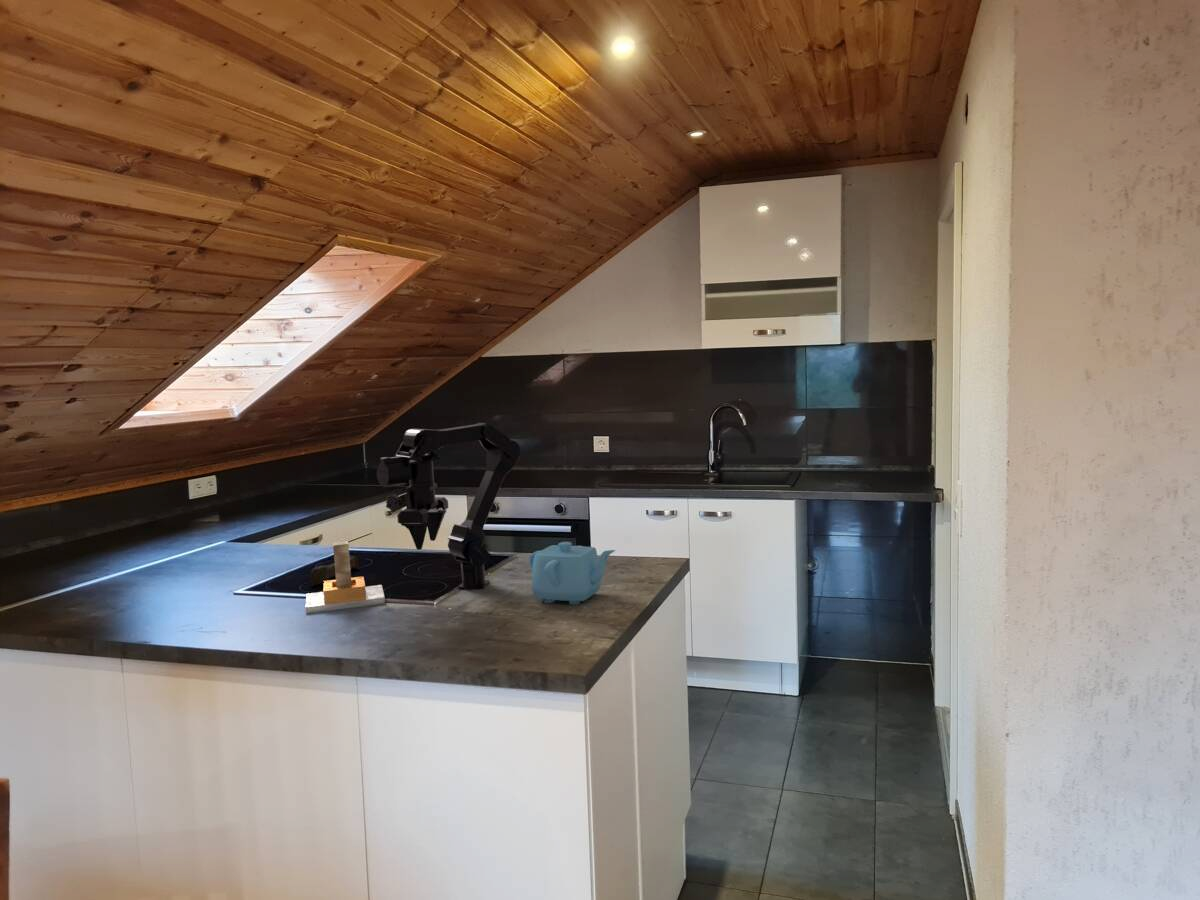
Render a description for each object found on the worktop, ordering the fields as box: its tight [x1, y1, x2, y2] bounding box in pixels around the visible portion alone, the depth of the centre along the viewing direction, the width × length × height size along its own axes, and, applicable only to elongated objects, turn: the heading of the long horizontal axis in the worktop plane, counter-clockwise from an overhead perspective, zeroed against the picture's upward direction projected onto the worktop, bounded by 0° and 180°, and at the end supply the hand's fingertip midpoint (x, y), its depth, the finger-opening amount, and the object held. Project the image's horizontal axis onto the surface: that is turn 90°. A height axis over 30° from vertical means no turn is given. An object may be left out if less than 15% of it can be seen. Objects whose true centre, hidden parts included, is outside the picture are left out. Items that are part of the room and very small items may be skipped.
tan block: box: [332, 540, 352, 587], centre depth 211 cm, size 4×4×13 cm
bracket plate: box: [305, 576, 386, 614], centre depth 211 cm, size 18×12×4 cm, turn 107°
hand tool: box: [310, 554, 359, 587], centre depth 235 cm, size 19×4×5 cm, turn 160°
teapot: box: [528, 541, 616, 606], centre depth 206 cm, size 18×16×14 cm
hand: (426, 544), depth 211 cm, fingers open, 9 cm apart
